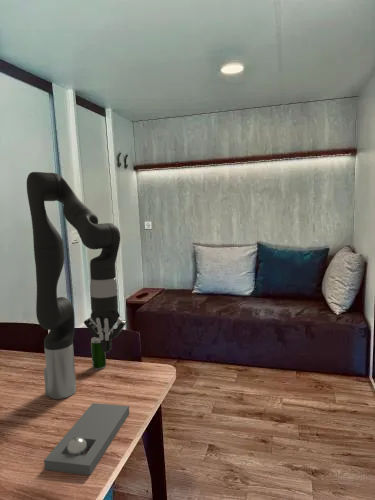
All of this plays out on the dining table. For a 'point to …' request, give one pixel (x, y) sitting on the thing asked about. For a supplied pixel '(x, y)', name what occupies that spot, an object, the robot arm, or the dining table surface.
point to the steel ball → (77, 447)
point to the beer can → (97, 354)
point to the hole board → (88, 439)
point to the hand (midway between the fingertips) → (106, 351)
